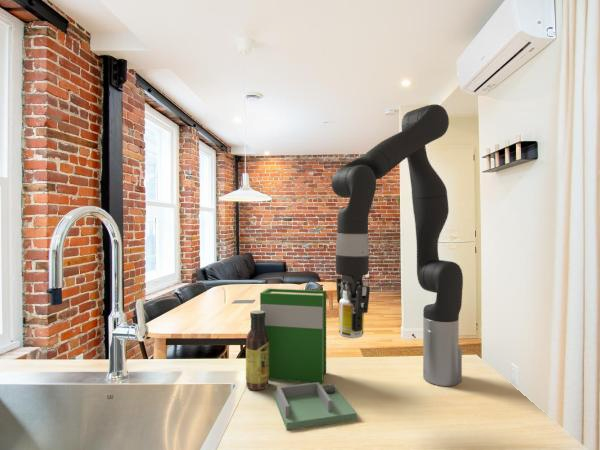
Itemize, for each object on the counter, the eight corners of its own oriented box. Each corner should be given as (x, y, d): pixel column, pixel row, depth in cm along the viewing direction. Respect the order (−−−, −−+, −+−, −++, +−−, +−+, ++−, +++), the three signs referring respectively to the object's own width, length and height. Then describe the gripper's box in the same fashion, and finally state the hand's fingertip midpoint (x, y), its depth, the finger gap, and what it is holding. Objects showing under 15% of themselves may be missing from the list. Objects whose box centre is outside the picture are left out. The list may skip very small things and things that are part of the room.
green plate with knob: (333, 389, 97) (333, 374, 97) (356, 419, 82) (356, 401, 82) (273, 397, 93) (273, 381, 93) (286, 430, 78) (286, 411, 78)
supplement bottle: (368, 337, 83) (368, 292, 83) (346, 340, 81) (346, 293, 81) (355, 330, 89) (356, 288, 88) (334, 333, 87) (335, 289, 86)
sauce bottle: (265, 392, 96) (265, 315, 95) (242, 390, 97) (242, 314, 97) (272, 381, 102) (272, 309, 102) (250, 379, 103) (250, 308, 103)
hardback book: (326, 372, 108) (326, 290, 107) (322, 383, 101) (322, 295, 100) (268, 367, 111) (268, 288, 111) (260, 378, 104) (260, 293, 104)
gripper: (382, 256, 79) (380, 335, 79) (354, 250, 93) (353, 318, 93) (349, 256, 77) (348, 337, 77) (326, 251, 91) (325, 319, 91)
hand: (351, 326), depth 85 cm, fingers closed on supplement bottle, 5 cm apart
